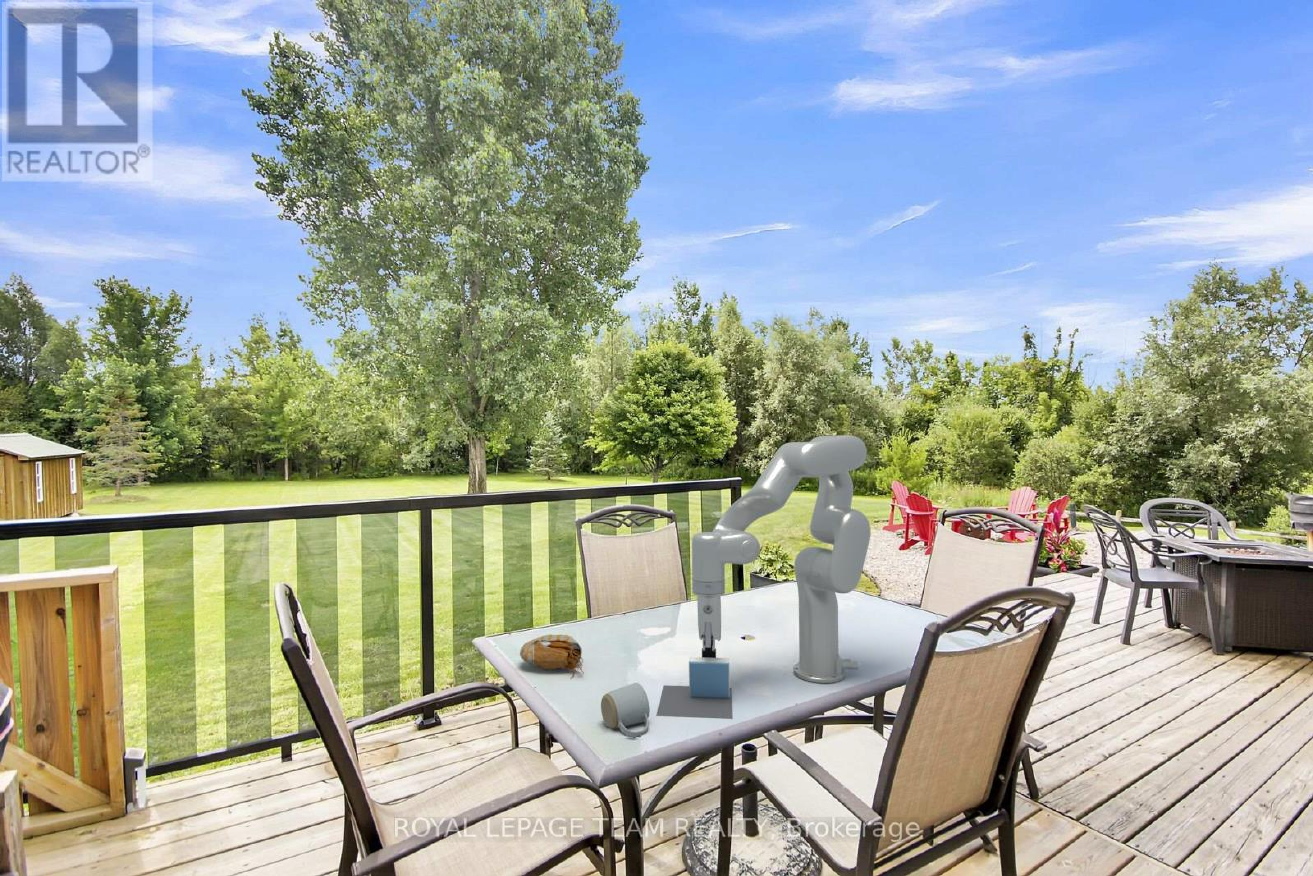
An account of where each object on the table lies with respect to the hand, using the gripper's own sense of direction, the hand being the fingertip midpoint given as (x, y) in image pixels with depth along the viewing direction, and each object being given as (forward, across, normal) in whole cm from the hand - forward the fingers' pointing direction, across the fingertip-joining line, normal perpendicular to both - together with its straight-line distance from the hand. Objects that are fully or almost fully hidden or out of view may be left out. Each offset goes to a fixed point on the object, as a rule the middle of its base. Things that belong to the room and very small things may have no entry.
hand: (709, 666), depth 137 cm
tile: (+6, -1, 0) cm, 6 cm away
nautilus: (+7, +13, +40) cm, 42 cm away
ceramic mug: (+7, -17, +16) cm, 24 cm away
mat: (+7, -4, +3) cm, 8 cm away
